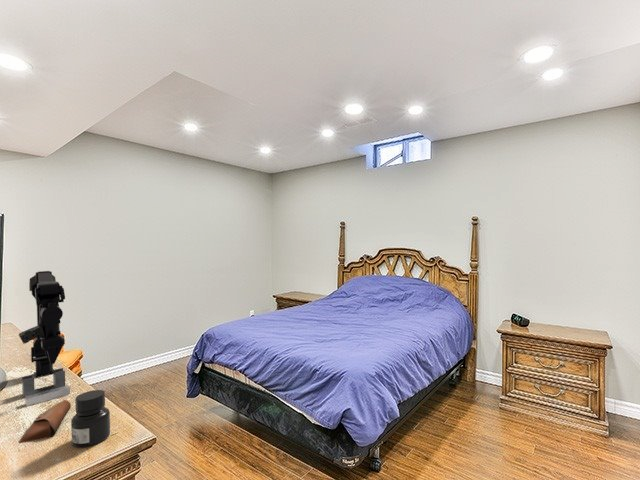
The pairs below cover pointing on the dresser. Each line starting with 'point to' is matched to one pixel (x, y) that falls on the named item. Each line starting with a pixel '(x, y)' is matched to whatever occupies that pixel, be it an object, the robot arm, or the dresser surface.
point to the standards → (30, 389)
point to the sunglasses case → (47, 422)
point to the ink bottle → (90, 419)
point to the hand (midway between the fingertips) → (50, 360)
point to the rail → (47, 395)
